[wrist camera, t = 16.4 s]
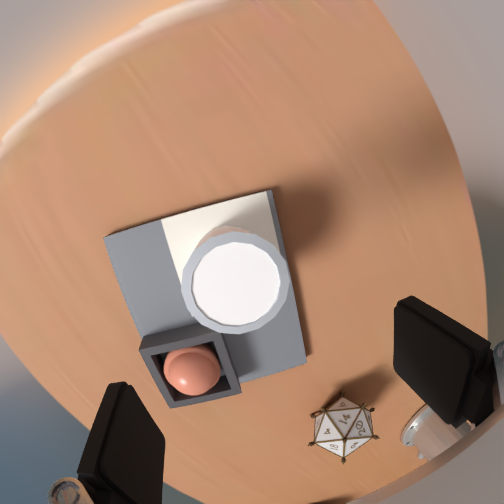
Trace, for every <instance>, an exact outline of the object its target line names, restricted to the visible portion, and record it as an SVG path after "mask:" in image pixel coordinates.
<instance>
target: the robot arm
mask: <svg viewBox="0 0 504 504" xmlns="http://www.w3.org/2000/svg"><path fill="white" fill-rule="evenodd" d="M490 345H491V343H490V342H489V341H487V340H486V339H484V338H483V337H481V336H479V335H478V334H476V333H475V332H473V331H471V330H470V329H468V328H466V327H465V326H463V325H462V324H460V323H458V322H457V321H455V320H453V319H452V318H450V317H448V316H447V315H445V314H443V313H442V312H440V311H438V310H437V309H435V308H433V307H432V306H430V305H428V304H426V303H425V302H423V301H421V300H420V299H418V298H416V297H414V296H409V297H407V298H404V299H402V300H400V301H398V302H397V306H396V307H395V308H394V357H393V366H394V370H395V372H396V373H397V374H398V375H399V376H400V377H401V378H402V379H403V380H404V381H405V382H406V383H407V384H408V385H409V386H410V387H411V388H412V389H413V390H414V391H415V392H416V393H417V394H418V395H419V397H420V398H421V399H422V400H423V401H424V402H425V403H426V405H425V406H424V407H422V408H421V409H420V410H419V411H418V412H417V413H416V414H415V415H414V416H413V417H412V419H411V420H410V421H409V422H408V424H407V425H406V427H405V428H404V430H403V432H402V435H401V442H402V443H403V444H404V445H405V446H413V445H415V446H416V447H417V448H418V450H419V452H418V454H417V457H418V458H419V459H423V458H424V457H425V458H426V460H427V461H428V462H427V463H425V464H424V465H422V466H420V467H419V468H417V469H415V470H414V471H412V472H410V473H408V474H407V475H405V476H403V477H401V478H399V479H397V480H396V481H394V482H392V483H390V484H388V485H386V486H384V487H382V488H380V489H378V490H376V491H374V492H371V493H369V494H367V495H365V496H363V497H360V498H358V499H356V500H353V501H351V502H348V503H346V504H504V340H503V341H502V342H499V343H498V344H497V345H496V346H495V347H494V350H491V349H490ZM467 419H468V420H469V421H470V422H471V426H470V425H469V424H468V423H467V422H466V421H467ZM164 455H165V438H164V435H163V434H162V432H161V431H160V429H159V428H158V426H157V425H156V423H155V422H154V420H153V419H152V417H151V416H150V414H149V412H148V411H147V409H146V408H145V406H144V404H143V403H142V401H141V400H140V398H139V396H138V395H137V393H136V391H135V389H134V388H133V386H132V385H128V384H127V383H126V382H124V381H123V382H117V383H110V384H109V385H108V387H107V389H106V392H105V394H104V397H103V399H102V402H101V404H100V407H99V410H98V412H97V415H96V418H95V420H94V423H93V426H92V428H91V431H90V434H89V437H88V440H87V443H86V445H85V448H84V451H83V454H82V457H81V460H80V464H79V467H78V470H77V473H78V474H79V476H78V479H75V478H71V477H65V478H62V479H59V480H57V481H56V482H55V483H54V484H53V485H52V486H51V487H50V489H49V492H48V502H49V504H162V485H163V469H164Z"/></svg>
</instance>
